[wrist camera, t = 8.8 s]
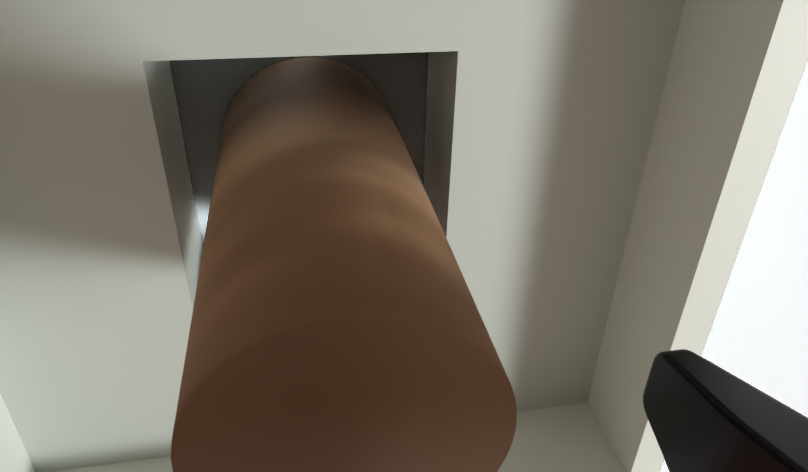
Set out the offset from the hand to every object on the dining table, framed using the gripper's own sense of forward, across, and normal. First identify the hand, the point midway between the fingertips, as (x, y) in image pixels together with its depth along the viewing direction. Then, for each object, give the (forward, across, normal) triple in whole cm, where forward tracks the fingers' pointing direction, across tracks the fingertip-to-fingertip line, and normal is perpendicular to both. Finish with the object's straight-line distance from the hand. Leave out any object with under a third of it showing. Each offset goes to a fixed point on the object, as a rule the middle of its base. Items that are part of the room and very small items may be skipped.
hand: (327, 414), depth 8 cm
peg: (+8, 0, 0) cm, 8 cm away
